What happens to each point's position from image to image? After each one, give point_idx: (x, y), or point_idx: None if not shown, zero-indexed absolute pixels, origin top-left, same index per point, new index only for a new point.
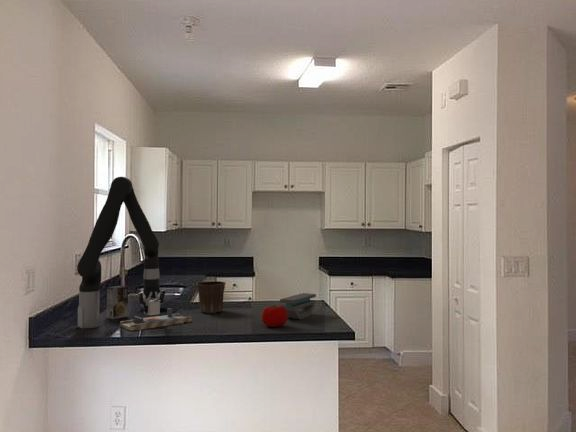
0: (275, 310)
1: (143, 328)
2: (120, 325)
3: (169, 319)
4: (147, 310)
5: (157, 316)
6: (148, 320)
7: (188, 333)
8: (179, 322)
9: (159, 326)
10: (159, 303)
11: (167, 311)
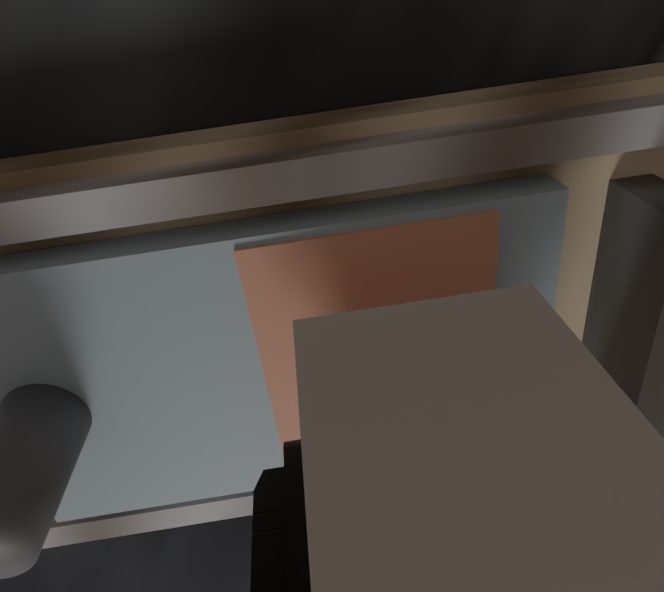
0: None
1: (640, 66)
2: None
3: (93, 220)
4: None
5: (241, 488)
6: (494, 279)
7: None
8: None
9: (330, 111)
10: (322, 560)
11: (60, 497)
